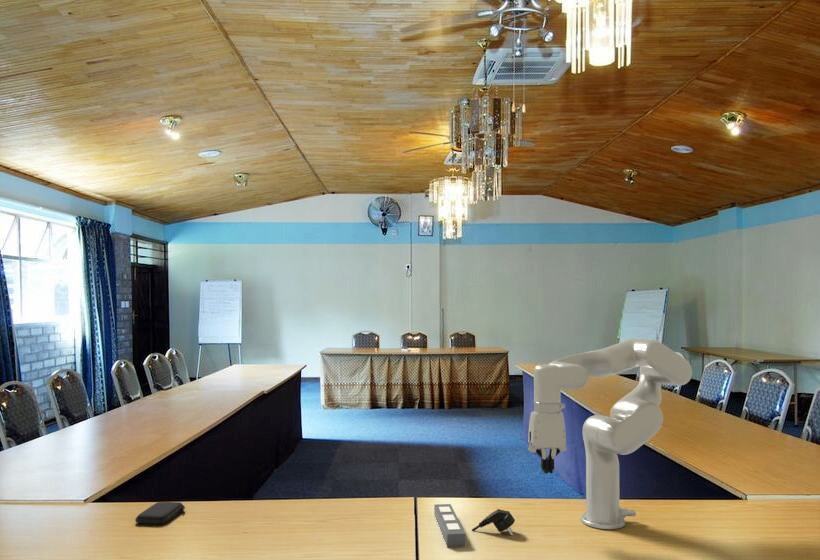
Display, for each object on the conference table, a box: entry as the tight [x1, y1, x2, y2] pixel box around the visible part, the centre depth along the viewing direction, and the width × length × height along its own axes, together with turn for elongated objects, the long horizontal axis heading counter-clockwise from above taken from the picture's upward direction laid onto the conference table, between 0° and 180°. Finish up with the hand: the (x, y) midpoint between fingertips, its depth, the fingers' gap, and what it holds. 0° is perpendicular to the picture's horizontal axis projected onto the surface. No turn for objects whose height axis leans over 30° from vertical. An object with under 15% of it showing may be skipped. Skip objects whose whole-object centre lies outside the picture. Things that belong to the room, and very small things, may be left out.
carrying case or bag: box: [135, 501, 186, 526], centre depth 188 cm, size 11×3×15 cm
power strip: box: [433, 503, 467, 548], centre depth 178 cm, size 5×24×4 cm, turn 6°
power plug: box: [471, 508, 516, 537], centre depth 176 cm, size 6×8×12 cm
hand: (547, 471), depth 177 cm, fingers closed
